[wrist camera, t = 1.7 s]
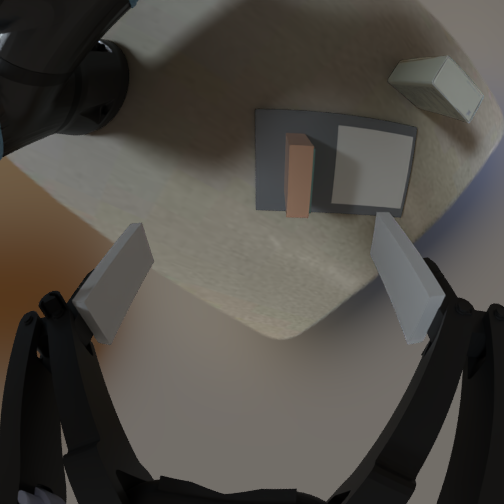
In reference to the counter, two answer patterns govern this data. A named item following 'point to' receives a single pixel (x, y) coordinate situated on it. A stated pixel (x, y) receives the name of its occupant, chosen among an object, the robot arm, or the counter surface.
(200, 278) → the counter surface
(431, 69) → the skincare box
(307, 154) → the tile
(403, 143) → the mat
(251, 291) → the counter surface
